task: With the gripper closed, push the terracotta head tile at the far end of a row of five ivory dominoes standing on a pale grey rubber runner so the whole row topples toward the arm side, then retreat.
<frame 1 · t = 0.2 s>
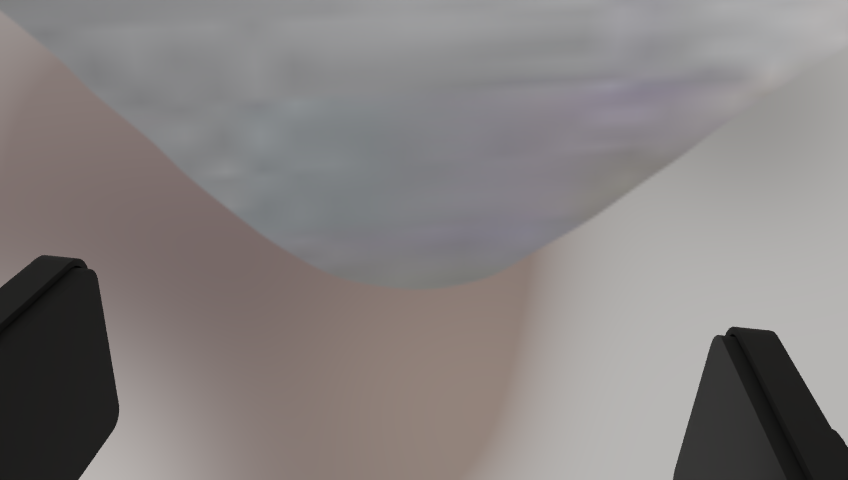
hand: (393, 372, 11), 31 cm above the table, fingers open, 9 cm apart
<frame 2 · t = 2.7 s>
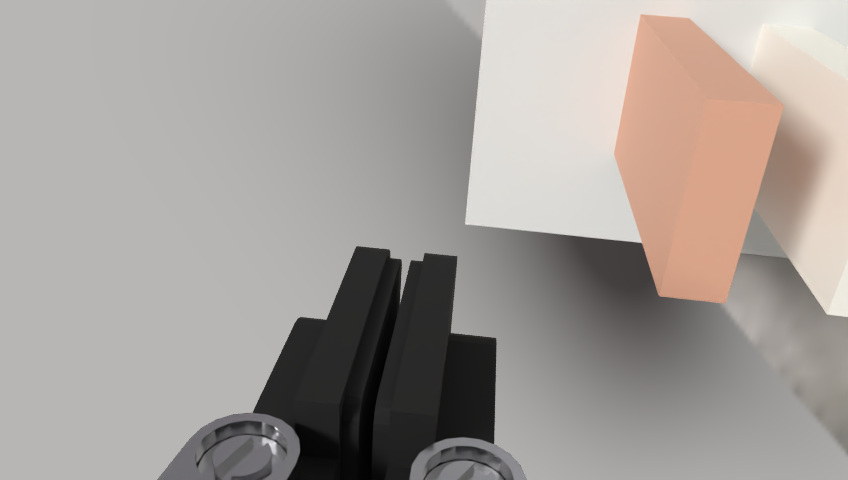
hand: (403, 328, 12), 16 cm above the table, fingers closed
domino 1: (649, 89, 26), resting on runner mat
domino 2: (766, 99, 25), resting on runner mat
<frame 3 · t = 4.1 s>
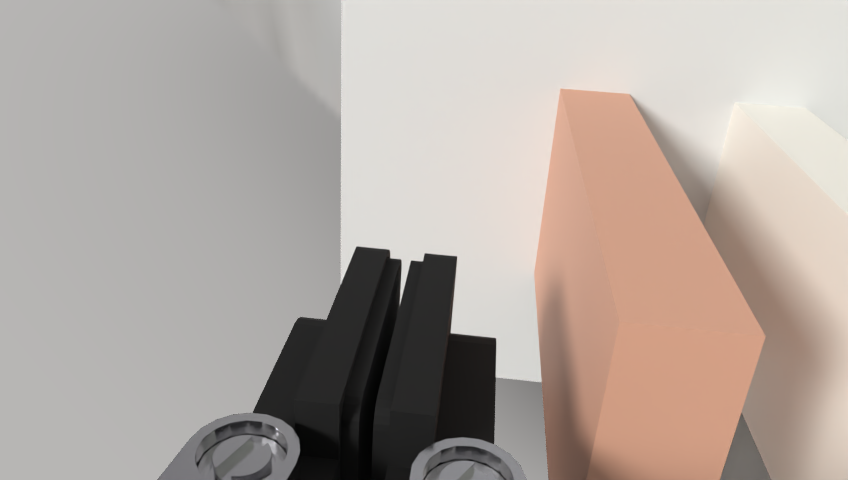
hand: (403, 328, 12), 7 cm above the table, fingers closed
domino 1: (578, 189, 18), resting on runner mat
domino 2: (742, 204, 18), resting on runner mat
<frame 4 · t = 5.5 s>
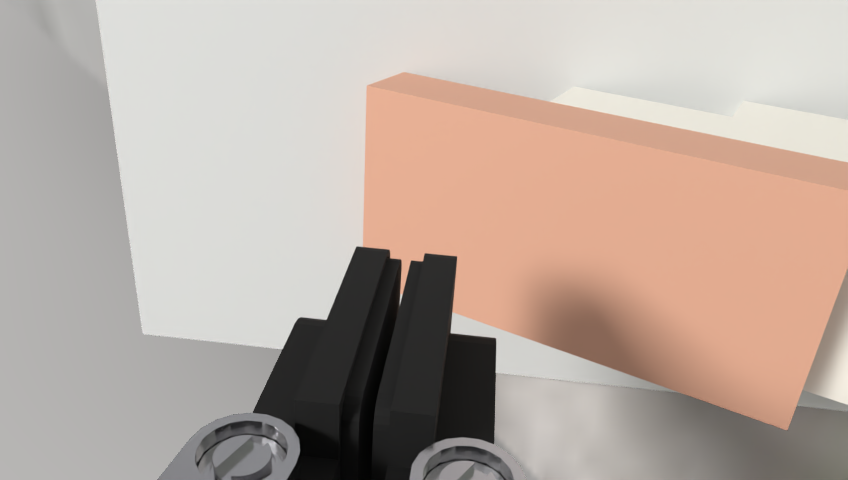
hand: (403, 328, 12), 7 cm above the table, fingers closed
domino 1: (382, 179, 18), point 1 cm above the table, tilted 66°, touching domino 2, runner mat
runner mat: (777, 198, 18), on the table
domino 3: (711, 210, 17), point 1 cm above the table, tilted 66°, touching domino 2, domino 4, runner mat
domino 2: (547, 194, 18), point 1 cm above the table, tilted 66°, touching domino 1, domino 3
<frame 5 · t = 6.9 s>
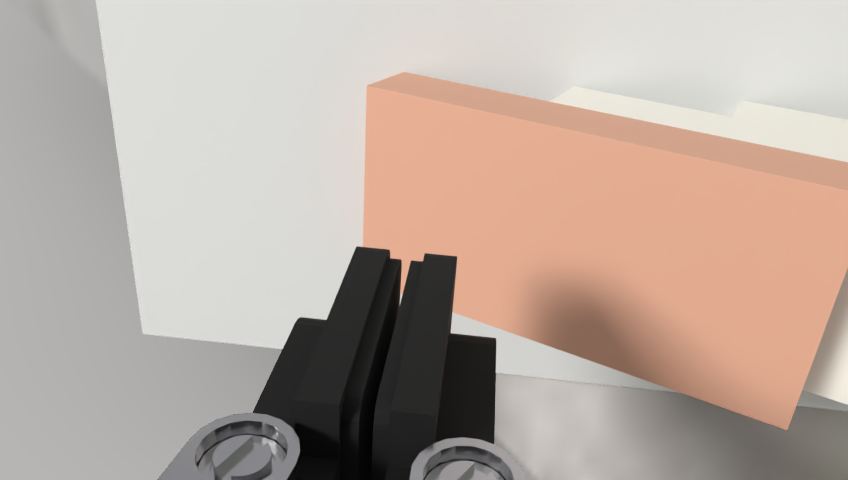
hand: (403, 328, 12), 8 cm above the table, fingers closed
domino 1: (382, 178, 18), point 1 cm above the table, tilted 66°, touching domino 2, runner mat
runner mat: (777, 198, 18), on the table
domino 3: (711, 209, 17), point 1 cm above the table, tilted 66°, touching domino 2, domino 4, runner mat
domino 2: (547, 194, 18), point 1 cm above the table, tilted 66°, touching domino 1, domino 3
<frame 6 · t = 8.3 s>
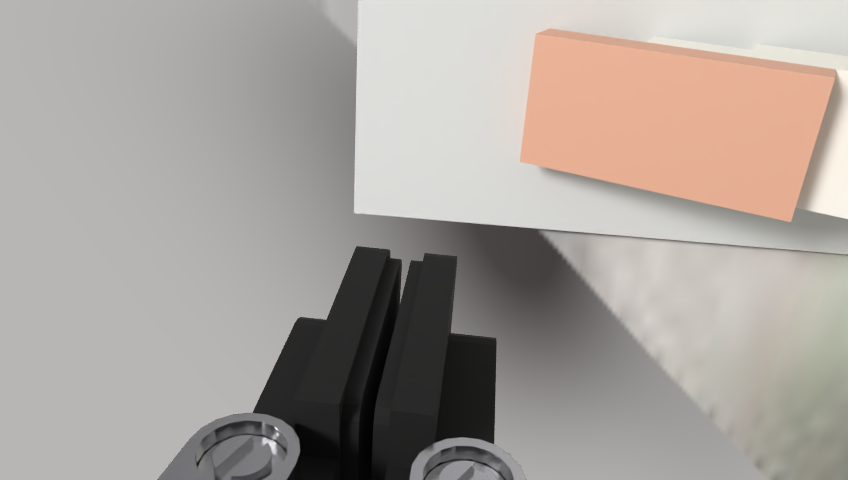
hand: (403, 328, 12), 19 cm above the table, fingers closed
domino 1: (534, 96, 29), point 1 cm above the table, tilted 66°, touching domino 2, runner mat
runner mat: (777, 107, 29), on the table
domino 3: (738, 111, 28), point 1 cm above the table, tilted 66°, touching domino 2, domino 4, runner mat
domino 2: (638, 104, 28), point 1 cm above the table, tilted 66°, touching domino 1, domino 3
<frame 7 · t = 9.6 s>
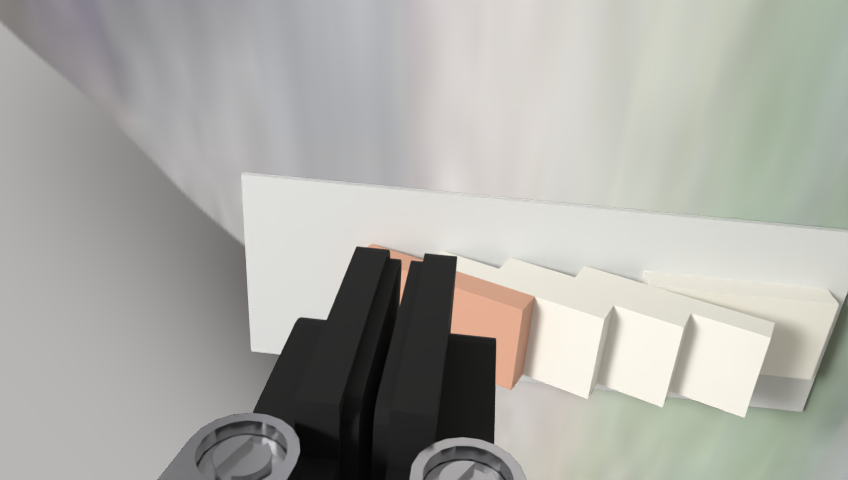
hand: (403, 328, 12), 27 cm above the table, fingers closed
domino 5: (637, 316, 41), point 1 cm above the table, tilted 90°, touching domino 4, runner mat
domino 4: (573, 309, 41), point 1 cm above the table, tilted 66°, touching domino 3, domino 5
domino 1: (363, 286, 42), point 1 cm above the table, tilted 66°, touching domino 2, runner mat
runner mat: (532, 294, 43), on the table
domino 3: (500, 301, 42), point 1 cm above the table, tilted 66°, touching domino 2, domino 4, runner mat
domino 2: (432, 294, 42), point 1 cm above the table, tilted 66°, touching domino 1, domino 3
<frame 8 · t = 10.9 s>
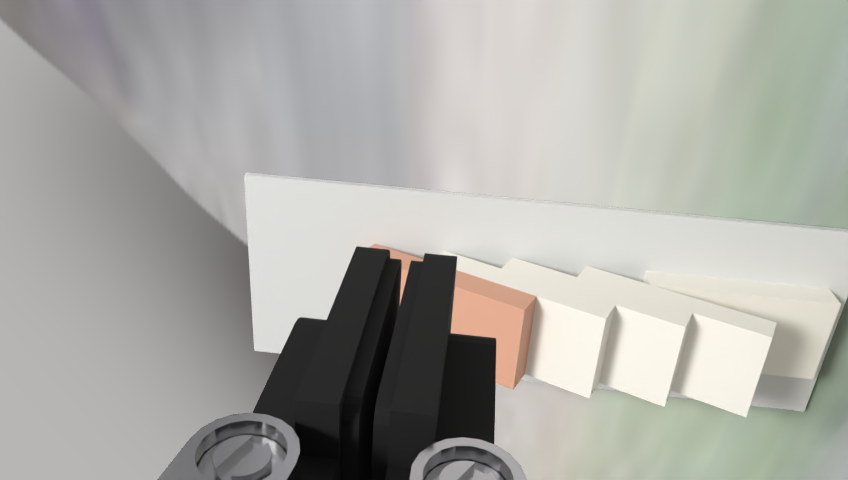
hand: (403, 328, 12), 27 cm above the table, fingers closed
domino 5: (639, 315, 41), point 1 cm above the table, tilted 90°, touching domino 4, runner mat
domino 4: (575, 309, 41), point 1 cm above the table, tilted 66°, touching domino 3, domino 5
domino 1: (365, 286, 42), point 1 cm above the table, tilted 66°, touching domino 2, runner mat
runner mat: (534, 294, 43), on the table
domino 3: (502, 300, 42), point 1 cm above the table, tilted 66°, touching domino 2, domino 4, runner mat
domino 2: (435, 293, 42), point 1 cm above the table, tilted 66°, touching domino 1, domino 3
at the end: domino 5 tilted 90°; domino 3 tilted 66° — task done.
